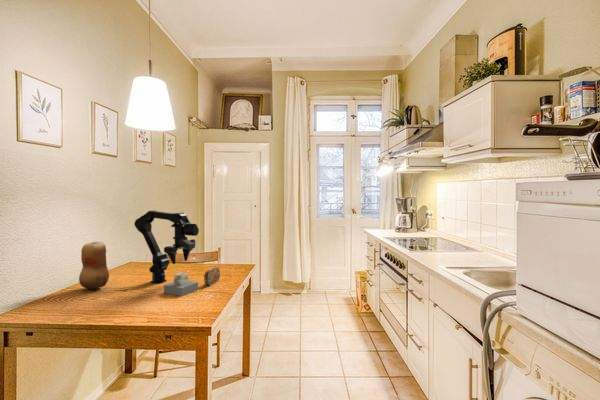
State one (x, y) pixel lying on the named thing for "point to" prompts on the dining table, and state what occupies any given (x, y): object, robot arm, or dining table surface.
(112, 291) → the dining table surface
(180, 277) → the cube
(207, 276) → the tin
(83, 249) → the butternut squash
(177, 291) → the plinth
